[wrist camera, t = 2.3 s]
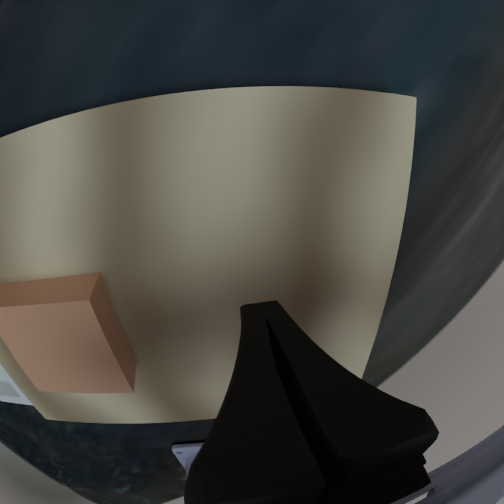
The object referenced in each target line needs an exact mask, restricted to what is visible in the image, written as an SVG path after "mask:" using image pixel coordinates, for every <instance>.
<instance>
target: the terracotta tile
mask: <svg viewBox="0 0 504 504" xmlns="http://www.w3.org/2000/svg"><path fill="white" fill-rule="evenodd" d="M0 336H1V338H2V339H3V341H4V342H5V344H6V346H7V347H8V349H9V350H10V352H11V353H12V355H13V356H14V358H15V359H16V361H17V362H18V363H19V365H20V366H21V368H22V369H23V370H24V372H25V373H26V375H27V376H28V377H29V379H30V380H31V381H32V383H33V384H34V385H35V386H36V388H37V389H38V390H39V391H45V392H63V393H134V385H135V375H136V366H137V364H136V362H135V360H134V357H133V355H132V353H131V351H130V348H129V346H128V344H127V341H126V339H125V337H124V334H123V332H122V329H121V327H120V324H119V322H118V319H117V317H116V314H115V312H114V309H113V307H112V304H111V301H110V299H109V296H108V293H107V290H106V287H105V285H104V282H103V279H102V276H101V273H100V272H98V273H89V274H81V275H73V276H64V277H56V278H48V279H39V280H31V281H22V282H14V283H5V284H0Z"/></svg>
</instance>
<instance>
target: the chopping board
mask: <svg viewBox="0 0 504 504" xmlns="http://www.w3.org/2000/svg"><path fill="white" fill-rule="evenodd" d="M415 117H416V97H411V96H405V95H398V94H391V93H384V92H375V91H366V90H356V89H344V88H329V87H304V86H262V87H237V88H222V89H210V90H199V91H190V92H181V93H174V94H166V95H160V96H153V97H147V98H141V99H136V100H130V101H125V102H120V103H115V104H111V105H106V106H102V107H98V108H93V109H89V110H85V111H81V112H78V113H74V114H70V115H67V116H63V117H60V118H56V119H53V120H50V121H47V122H43V123H40V124H37V125H34V126H31V127H28V128H26V129H23V130H20V131H17V132H14V133H12V134H9V135H7V136H4V137H1V138H0V284H5V283H14V282H22V281H31V280H39V279H48V278H56V277H64V276H73V275H81V274H89V273H98V272H100V273H101V276H102V279H103V282H104V285H105V287H106V290H107V293H108V296H109V299H110V301H111V304H112V307H113V309H114V312H115V314H116V317H117V319H118V322H119V324H120V327H121V329H122V332H123V334H124V337H125V339H126V341H127V344H128V346H129V348H130V351H131V353H132V355H133V357H134V360H135V362H136V364H137V366H136V375H135V385H134V393H63V392H45V391H39V390H38V389H37V388H36V386H35V385H34V384H33V383H32V381H31V380H30V379H29V377H28V376H27V375H26V373H25V372H24V370H23V369H22V368H21V366H20V365H19V363H18V362H17V361H16V359H15V358H14V356H13V355H12V353H11V352H10V350H9V349H8V347H7V346H6V344H5V342H4V341H3V339H2V338H1V336H0V364H1V365H2V367H3V368H4V369H5V371H6V372H7V373H8V375H9V376H10V377H11V379H12V380H13V381H14V382H15V384H16V385H17V386H18V388H19V389H20V390H21V391H22V392H23V394H24V395H25V396H26V397H27V398H28V400H29V401H30V402H31V403H32V404H33V405H34V407H35V408H36V409H37V410H38V411H39V412H40V413H41V414H42V415H43V416H44V418H45V419H50V420H60V421H72V422H88V423H163V422H180V421H193V420H204V419H213V418H216V417H217V415H218V413H219V410H220V408H221V405H222V403H223V400H224V398H225V395H226V392H227V389H228V386H229V383H230V380H231V377H232V373H233V370H234V366H235V361H236V357H237V352H238V347H239V340H240V333H241V316H240V307H241V306H242V305H245V304H252V303H260V302H266V301H273V300H277V301H278V302H279V303H280V304H281V305H282V307H283V308H284V309H285V311H286V312H287V313H288V314H289V315H290V317H291V318H292V319H293V320H294V321H295V322H296V323H297V325H298V326H299V327H300V328H301V329H302V330H303V331H304V332H305V333H306V334H307V335H308V336H309V337H310V338H311V339H312V340H313V341H314V342H315V343H316V344H317V345H318V346H319V347H320V348H321V349H323V350H324V351H325V352H326V353H327V354H328V355H329V356H331V357H332V358H333V359H334V360H335V361H337V362H338V363H339V364H341V365H342V366H343V367H345V368H346V369H347V370H349V371H350V372H352V373H353V374H355V375H356V376H357V377H359V378H361V379H362V376H363V373H364V370H365V367H366V364H367V361H368V359H369V356H370V353H371V349H372V346H373V343H374V340H375V337H376V334H377V330H378V327H379V324H380V320H381V317H382V313H383V309H384V306H385V302H386V298H387V294H388V291H389V287H390V283H391V278H392V274H393V270H394V266H395V261H396V256H397V252H398V247H399V242H400V237H401V232H402V226H403V221H404V215H405V209H406V202H407V196H408V189H409V181H410V174H411V165H412V156H413V145H414V133H415Z"/></svg>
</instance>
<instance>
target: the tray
mask: <svg viewBox="0 0 504 504" xmlns="http://www.w3.org/2000/svg"><path fill="white" fill-rule="evenodd" d="M0 401H4V402H11V403H18V404H26V405H33V404H32V403H31V402H30V401H29V400H28V398H27V397H26V396H25V395H24V394H23V392H22V391H21V390H20V389H19V388H18V386H17V385H16V384H15V382H14V381H13V380H12V379H11V377H10V376H9V375H8V373H7V372H6V371H5V369H4V368H3V367H2V365H1V364H0Z"/></svg>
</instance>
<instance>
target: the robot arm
mask: <svg viewBox="0 0 504 504" xmlns="http://www.w3.org/2000/svg"><path fill="white" fill-rule="evenodd" d="M240 316H241V333H240V340H239V347H238V352H237V357H236V361H235V366H234V370H233V373H232V377H231V380H230V383H229V386H228V389H227V392H226V395H225V398H224V400H223V403H222V405H221V408H220V410H219V413H218V415H217V417H216V419H215V421H214V423H213V425H212V427H211V430H210V432H209V434H208V436H207V438H206V439H205V441H204V442H203V443H191V444H176V445H173V446H172V451H173V453H174V454H175V456H176V457H177V459H178V460H179V462H180V463H181V464H182V466H183V467H184V469H185V470H186V479H187V480H186V484H185V490H184V503H185V504H405V503H407V502H409V501H411V500H413V499H415V498H417V497H419V496H421V495H423V494H425V493H426V492H428V491H429V492H428V494H427V497H426V498H424V499H422V500H421V501H419V502H417V503H415V504H497V503H498V502H499V501H500V500H501V499H502V498H503V497H504V425H503V426H502V427H501V428H499V429H498V430H497V431H495V432H494V433H493V434H491V435H490V436H488V437H487V438H486V439H484V440H483V441H481V442H480V443H478V444H477V445H475V446H474V447H472V448H471V449H469V450H468V451H466V452H464V453H463V454H461V455H459V456H458V457H456V458H455V459H453V460H451V461H449V462H448V463H446V464H444V465H442V466H440V467H439V468H437V469H435V470H433V471H431V472H429V473H427V472H426V470H425V468H424V466H423V465H424V464H425V463H426V460H425V458H424V456H423V453H424V452H425V451H426V450H427V449H428V448H429V447H430V446H431V445H432V444H433V443H434V441H435V440H436V439H437V437H438V434H439V431H438V430H437V428H436V426H435V424H434V422H433V420H432V419H431V417H430V416H429V415H428V413H427V412H426V410H425V409H423V408H420V407H417V406H415V405H412V404H410V403H407V402H404V401H402V400H399V399H397V398H395V397H393V396H391V395H389V394H387V393H385V392H383V391H381V390H379V389H378V388H376V387H374V386H372V385H371V384H369V383H367V382H366V381H364V380H362V379H361V378H359V377H357V376H356V375H355V374H353V373H352V372H350V371H349V370H347V369H346V368H345V367H343V366H342V365H341V364H339V363H338V362H337V361H335V360H334V359H333V358H332V357H331V356H329V355H328V354H327V353H326V352H325V351H324V350H323V349H321V348H320V347H319V346H318V345H317V344H316V343H315V342H314V341H313V340H312V339H311V338H310V337H309V336H308V335H307V334H306V333H305V332H304V331H303V330H302V329H301V328H300V327H299V326H298V325H297V323H296V322H295V321H294V320H293V319H292V318H291V317H290V315H289V314H288V313H287V312H286V311H285V309H284V308H283V307H282V305H281V304H280V303H279V302H278V301H277V300H273V301H266V302H260V303H252V304H245V305H242V306H241V307H240Z"/></svg>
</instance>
